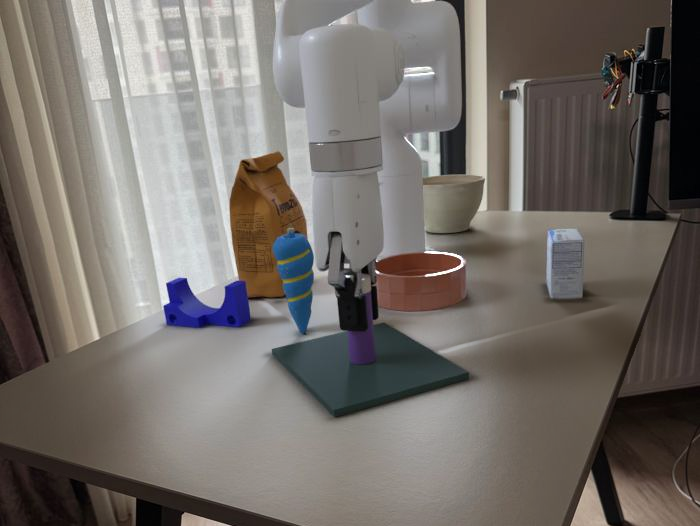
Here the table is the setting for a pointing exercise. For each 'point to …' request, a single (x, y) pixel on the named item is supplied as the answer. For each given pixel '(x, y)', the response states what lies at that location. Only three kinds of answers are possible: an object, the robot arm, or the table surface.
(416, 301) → the bowl
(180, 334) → the table surface
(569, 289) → the medicine box
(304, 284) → the ornament
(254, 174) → the coffee package
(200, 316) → the blue pipe cradle
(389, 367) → the mat
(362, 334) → the glue stick
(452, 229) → the planter bowl
